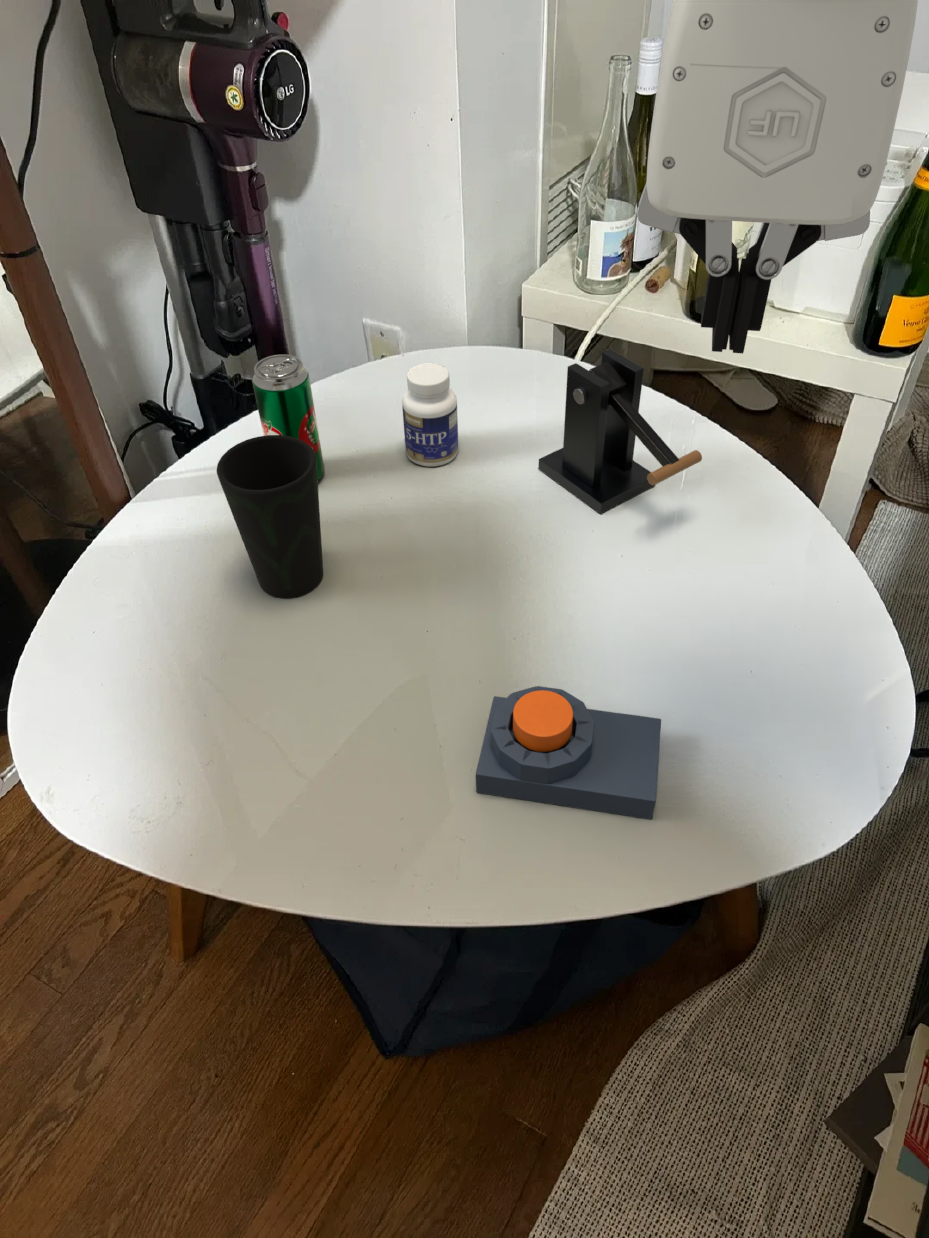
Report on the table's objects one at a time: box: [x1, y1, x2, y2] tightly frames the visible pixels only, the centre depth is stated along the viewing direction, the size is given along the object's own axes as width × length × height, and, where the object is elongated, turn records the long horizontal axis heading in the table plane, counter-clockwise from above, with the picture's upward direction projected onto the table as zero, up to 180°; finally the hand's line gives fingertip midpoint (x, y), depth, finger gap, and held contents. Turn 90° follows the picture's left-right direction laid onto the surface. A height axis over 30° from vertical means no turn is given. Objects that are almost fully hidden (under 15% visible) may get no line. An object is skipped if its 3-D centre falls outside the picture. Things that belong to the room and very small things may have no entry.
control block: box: [475, 685, 662, 820], centre depth 64 cm, size 12×7×4 cm, turn 79°
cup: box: [215, 435, 324, 600], centre depth 76 cm, size 8×8×12 cm
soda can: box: [251, 354, 325, 481], centre depth 86 cm, size 5×5×12 cm
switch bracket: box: [537, 348, 656, 515], centre depth 84 cm, size 9×7×12 cm
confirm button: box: [513, 690, 573, 752], centre depth 62 cm, size 4×4×2 cm
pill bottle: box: [401, 362, 459, 467], centre depth 89 cm, size 5×5×9 cm
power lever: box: [588, 362, 703, 486], centre depth 80 cm, size 12×6×2 cm, turn 36°
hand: (727, 339), depth 49 cm, fingers closed
